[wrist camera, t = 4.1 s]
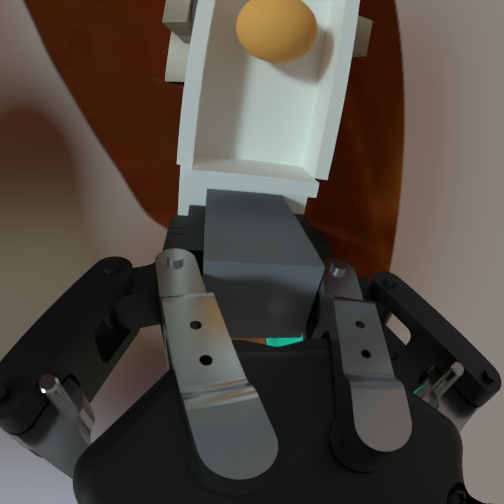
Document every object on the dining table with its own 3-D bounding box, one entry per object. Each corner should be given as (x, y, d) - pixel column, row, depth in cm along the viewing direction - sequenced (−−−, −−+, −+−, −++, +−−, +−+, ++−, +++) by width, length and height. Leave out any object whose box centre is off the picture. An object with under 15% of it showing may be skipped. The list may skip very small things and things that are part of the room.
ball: (229, 68, 9) (231, 43, 10) (312, 81, 9) (298, 55, 11) (244, -9, 6) (243, -17, 8) (337, 11, 7) (316, -2, 8)
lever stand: (181, -15, 14) (160, -66, 6) (329, 8, 16) (396, -19, 8) (166, 81, 18) (131, 86, 10) (312, 98, 20) (372, 119, 12)
